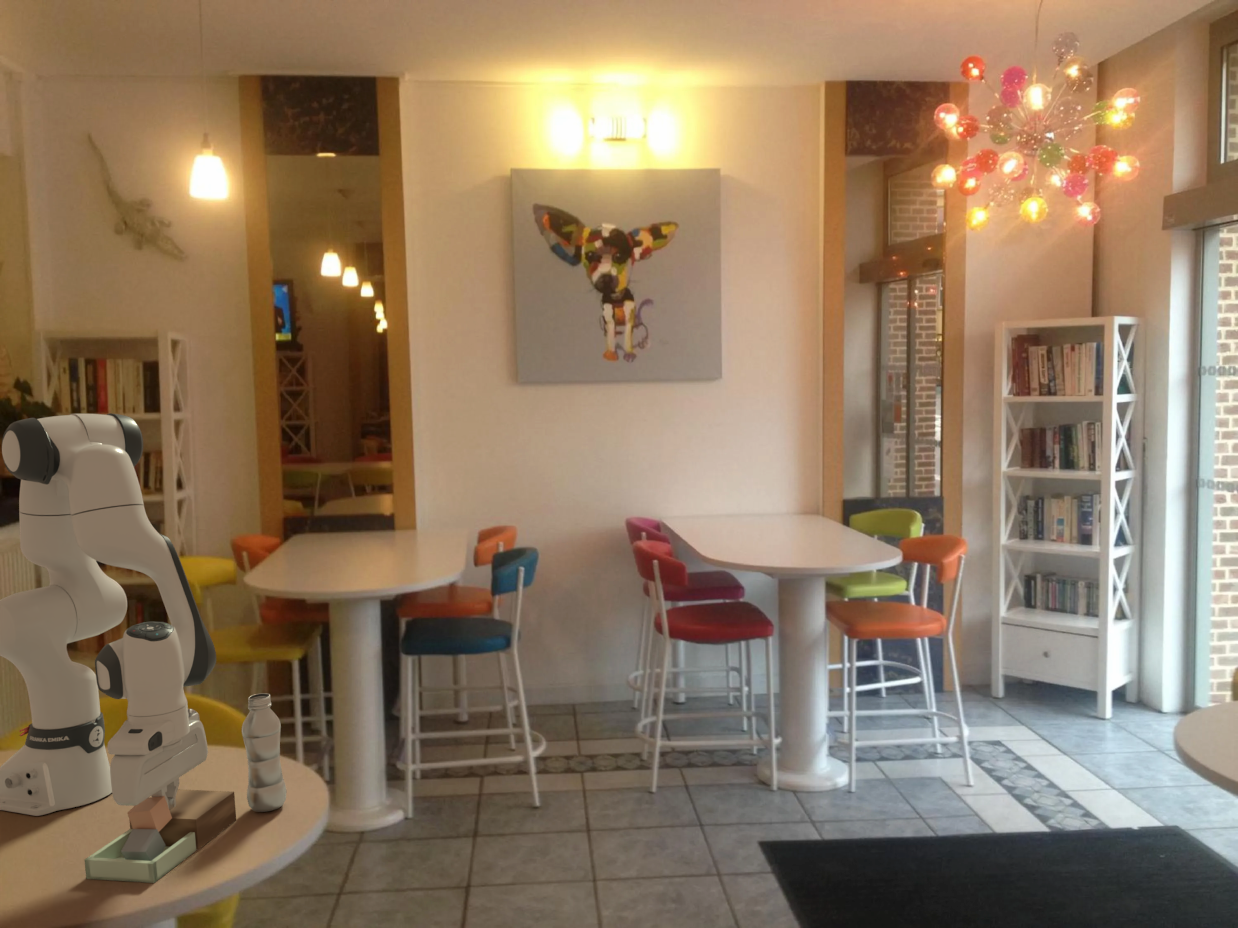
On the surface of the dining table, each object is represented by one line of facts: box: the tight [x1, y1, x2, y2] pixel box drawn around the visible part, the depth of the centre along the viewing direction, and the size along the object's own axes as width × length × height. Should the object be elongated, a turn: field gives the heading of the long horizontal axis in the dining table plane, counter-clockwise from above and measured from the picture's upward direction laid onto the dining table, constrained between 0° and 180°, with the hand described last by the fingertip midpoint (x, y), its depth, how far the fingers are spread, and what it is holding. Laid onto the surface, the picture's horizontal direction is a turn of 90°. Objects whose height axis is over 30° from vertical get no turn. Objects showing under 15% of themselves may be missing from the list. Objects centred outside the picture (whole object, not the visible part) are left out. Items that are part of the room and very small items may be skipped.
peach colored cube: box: [126, 796, 172, 832], centre depth 167 cm, size 4×4×4 cm
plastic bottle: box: [241, 692, 287, 813], centre depth 184 cm, size 6×7×20 cm
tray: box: [84, 828, 197, 884], centre depth 165 cm, size 12×11×3 cm
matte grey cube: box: [121, 829, 166, 861], centre depth 164 cm, size 4×4×4 cm
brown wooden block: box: [128, 788, 237, 851], centre depth 176 cm, size 12×11×5 cm
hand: (166, 809), depth 170 cm, fingers closed
